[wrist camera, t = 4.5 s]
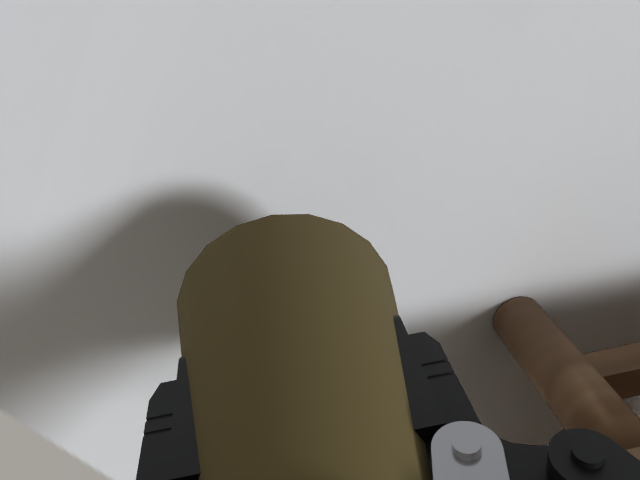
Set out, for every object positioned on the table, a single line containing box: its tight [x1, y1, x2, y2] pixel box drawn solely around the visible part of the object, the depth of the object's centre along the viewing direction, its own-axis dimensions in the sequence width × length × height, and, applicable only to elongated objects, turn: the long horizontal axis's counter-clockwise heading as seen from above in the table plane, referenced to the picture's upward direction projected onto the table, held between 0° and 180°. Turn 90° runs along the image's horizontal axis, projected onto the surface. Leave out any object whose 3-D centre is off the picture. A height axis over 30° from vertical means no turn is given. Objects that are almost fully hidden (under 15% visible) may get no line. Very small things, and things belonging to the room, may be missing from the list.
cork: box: [177, 214, 433, 480], centre depth 11 cm, size 6×6×11 cm
